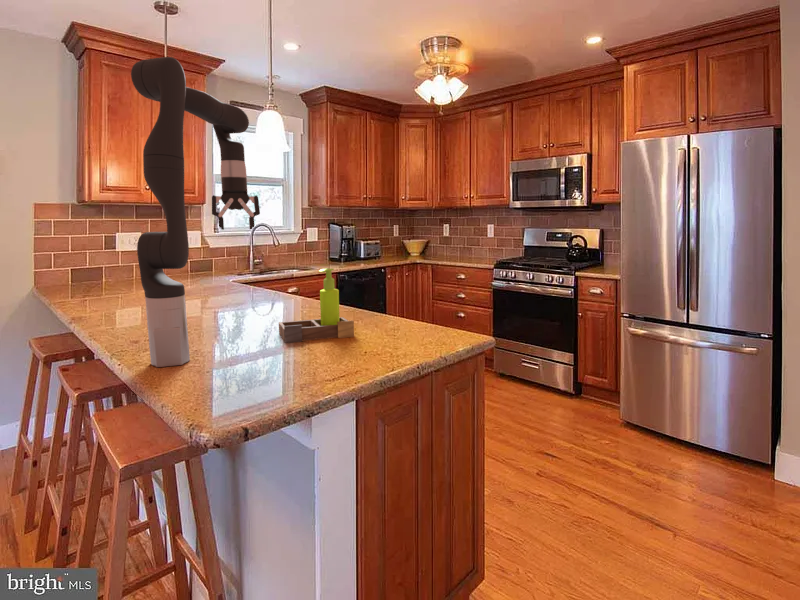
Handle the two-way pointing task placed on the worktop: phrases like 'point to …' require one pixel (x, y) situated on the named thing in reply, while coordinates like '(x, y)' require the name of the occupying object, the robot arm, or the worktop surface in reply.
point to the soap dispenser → (329, 300)
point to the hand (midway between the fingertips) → (237, 229)
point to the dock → (314, 330)
